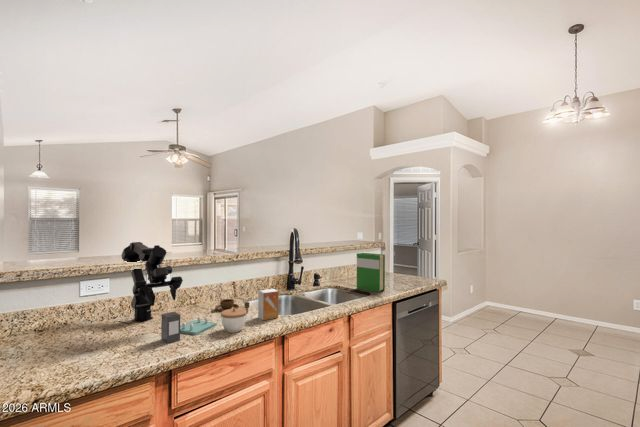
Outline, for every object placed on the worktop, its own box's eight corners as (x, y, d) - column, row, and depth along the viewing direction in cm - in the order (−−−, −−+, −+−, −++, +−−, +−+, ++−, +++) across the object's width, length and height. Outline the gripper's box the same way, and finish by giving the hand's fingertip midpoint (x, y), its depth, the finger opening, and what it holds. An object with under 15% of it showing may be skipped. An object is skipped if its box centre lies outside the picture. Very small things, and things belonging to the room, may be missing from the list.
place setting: (241, 305, 180) (241, 294, 180) (251, 314, 163) (251, 302, 163) (208, 309, 172) (208, 297, 172) (215, 319, 154) (215, 307, 155)
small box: (263, 320, 152) (263, 292, 152) (257, 317, 157) (258, 290, 157) (278, 317, 156) (278, 290, 156) (273, 314, 161) (273, 288, 162)
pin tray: (173, 331, 137) (173, 323, 137) (194, 322, 149) (194, 314, 149) (195, 335, 133) (196, 326, 133) (216, 325, 145) (216, 317, 145)
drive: (161, 339, 128) (161, 314, 128) (174, 336, 131) (174, 311, 131) (166, 343, 124) (167, 317, 124) (180, 340, 127) (180, 314, 127)
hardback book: (384, 290, 217) (384, 254, 217) (379, 292, 211) (379, 255, 211) (362, 286, 228) (362, 252, 228) (356, 288, 222) (356, 253, 223)
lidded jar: (251, 329, 140) (251, 307, 140) (229, 336, 132) (230, 313, 132) (237, 324, 147) (237, 303, 147) (216, 330, 139) (216, 308, 139)
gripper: (134, 261, 131) (143, 293, 123) (181, 258, 144) (191, 286, 136) (129, 278, 137) (136, 310, 129) (174, 273, 150) (183, 301, 142)
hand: (163, 301), depth 134 cm, fingers open, 9 cm apart
